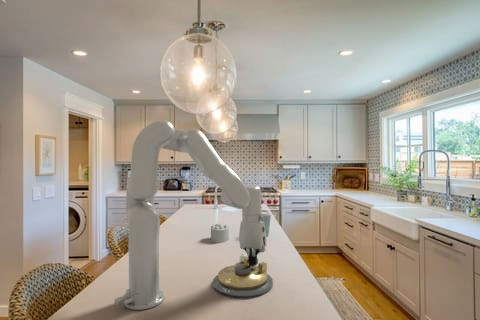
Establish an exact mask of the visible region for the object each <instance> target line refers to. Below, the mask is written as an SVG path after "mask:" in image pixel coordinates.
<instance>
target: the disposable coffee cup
mask: <svg viewBox="0 0 480 320" xmlns="http://www.w3.org/2000/svg"><path fill="white" fill-rule="evenodd" d="M261 213H262V216H264V217H265V219H264V220H262V221H263V222H264V225H265V230H266V237H268V236H269V235H270V226H271V216H272V213H271V211H270V210H267V209H261Z"/></svg>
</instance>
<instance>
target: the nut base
mask: <svg viewBox="0 0 480 320" xmlns="http://www.w3.org/2000/svg"><path fill="white" fill-rule="evenodd" d="M273 283H274V282H273V278H272V276H270V275H269V274H268V273H267V283H266V284H265V285H264V286H262V287H260V288H257V289H254V290H246V291H239V290H231V289H228V288H225V287H223V286H221V285H220V284H219V281H218V274H217V275H216V276H214V278H213V280H212V287H213V290H214V291H215V292H217V293H218V294H220V295H222V296H225V297H229V298H234V299H249V298H256V297H261V296H263V295H265V294H268V293H269V292H270V291H271V290H272V289H273V287H274V286H273Z"/></svg>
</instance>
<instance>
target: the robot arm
mask: <svg viewBox="0 0 480 320" xmlns="http://www.w3.org/2000/svg"><path fill="white" fill-rule="evenodd" d="M162 149H164V150H168V151H173V152H178V153H185V154H188V155H189V157H190V158H191V159H192V161H193V162H194V163H195V165H196V166H197V168H198V169H199V170H200V172H201V174H203V175H204V176H205V177H206V178H207V179H208V180H210V181H212V182H213V183H215V184H216V185H217V186H218V187H219V188H220V189H221V192H220V197H219V198H220V201H221V202H222V203H223V204H224V205H226V206H229V207H231V208H234V209H238V210H241V213H242V214H241V217H242V218H241V219H242V220H241V221H240V226H239V235H238V236H239V237H238V243H239V248H240V249H241V250H243V251H245V253H246V255H248V262H249V266H252V267H253V266H255V265H256V264H257V258H258V255H259V254H260V253H264V252H266V250H267V249H266V246H267V245H268V244H267V243H268V242H267V236H266V230H265V225H264V222H263V221H262V220H264V219H265V217H264V216H262V213H261V210H262V189H261V187H260V186H257V185H247V186H246V185H245V184H244V182H243V181H242V180H241V179H240V177H239V176H238V175H237V174H236V173H235V171H234V170H233V169H232V168H231V167H230V166H229V165H227V163H225V162H224V161H223V160H222V158H221V157H220V155H219V154H218V153H217V151H216V150H215V148H214V146H213V145H212V144H211V142H210V141H209V140H208V138H207V136H206V135H205V134H204V132H202V131H201V130H200V129H197V128H190V129H187V130H185V129H179V128H175V127H174V125H173V124H172V123H171V122H170V121H168V120H167V119H160V120H159V119H158V120H155V121H153V122H151V123H149V124H148V125H146V126H145V127H143V128H142V129H141V130H140V131H139V133H138V134H137V135H136V137H135V139H134V142H133V145H132V149H131V156H130V157H131V161H130V175H129V177H128V178H127V181H126V191H125V192H126V193H125V194H126V195H125V197H126V198H125V201H126V203H125V204H126V205H125V206H126V207H125V208H126V209H125V212H126V213H125V215H126V220H127V223H128V245H127V246H128V289H126V290H125V293H124V294H123V295H122V296H119V297H116V298H115V299H114V304H115V306H119V305H120V304H123V306H124V307H126V309H129V310H135V311H137V310H138V311H139V310H140V311H142V310H148V309H151V308H155V307H156V306H158V305H160V304H161V303H163V301H164V300H165V293H164V292H163V291H162V290H160V250H159V249H160V230H161V229H160V228H161V219H160V215H159V212H158V210H157V209H156V208H155V196H156V195H157V192H158V190H159V158H160V157H159V156H160V152H161V150H162ZM257 265H258V264H257Z"/></svg>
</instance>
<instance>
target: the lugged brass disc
mask: <svg viewBox="0 0 480 320" xmlns="http://www.w3.org/2000/svg"><path fill="white" fill-rule="evenodd" d="M267 265H268V263H267V262H264V261H261V262H258V264H257V266H253V267H252V266H249V262H248V257H247V258H244V263H243V264H233V265H229V266H225V267H224V268H221V269H220V270H219V271H218V274H217V275H218V281H219V284H220V285H221V286H223V287H225V288H228V289H231V290H239V291H246V290H254V289H257V288H260V287H262V286H264V285H265V284H266V283H267V274H268V272H267V268H268V267H267Z"/></svg>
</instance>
